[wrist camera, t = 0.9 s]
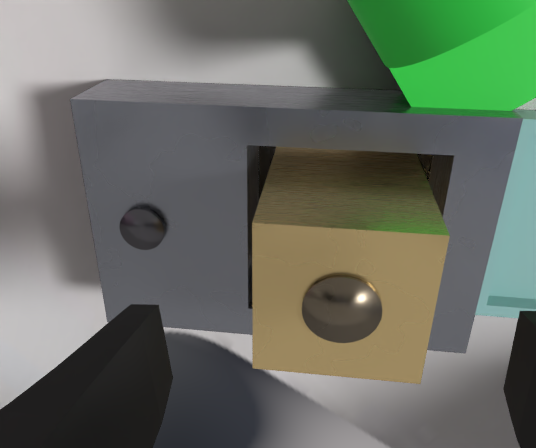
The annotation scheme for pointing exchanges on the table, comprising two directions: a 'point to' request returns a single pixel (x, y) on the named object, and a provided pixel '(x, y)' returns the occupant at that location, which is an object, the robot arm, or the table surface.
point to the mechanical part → (456, 50)
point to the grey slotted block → (247, 187)
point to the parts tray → (514, 235)
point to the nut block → (346, 264)
